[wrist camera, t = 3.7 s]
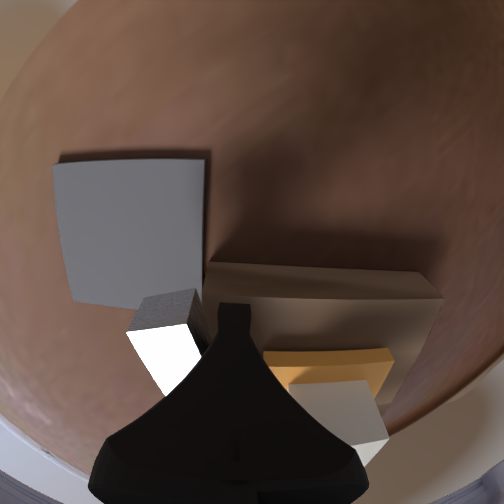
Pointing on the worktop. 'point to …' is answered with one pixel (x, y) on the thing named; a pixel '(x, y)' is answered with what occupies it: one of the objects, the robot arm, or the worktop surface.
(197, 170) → the mat
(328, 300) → the socket block
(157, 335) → the light grey long bar
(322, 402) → the plug
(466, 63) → the worktop surface
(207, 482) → the robot arm
